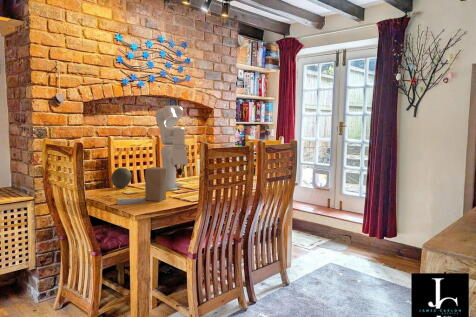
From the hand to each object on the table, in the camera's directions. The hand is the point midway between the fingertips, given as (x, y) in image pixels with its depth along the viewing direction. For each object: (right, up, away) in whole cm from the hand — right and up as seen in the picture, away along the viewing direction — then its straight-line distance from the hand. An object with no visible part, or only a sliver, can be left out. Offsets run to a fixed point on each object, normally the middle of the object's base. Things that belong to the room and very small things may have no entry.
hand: (179, 174), depth 231 cm
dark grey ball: (-49, -12, +34) cm, 61 cm away
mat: (-28, -16, -10) cm, 34 cm away
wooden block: (-14, -16, -4) cm, 22 cm away
